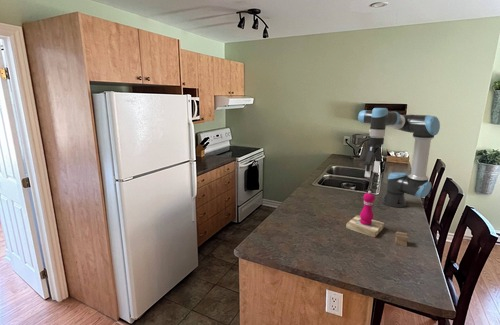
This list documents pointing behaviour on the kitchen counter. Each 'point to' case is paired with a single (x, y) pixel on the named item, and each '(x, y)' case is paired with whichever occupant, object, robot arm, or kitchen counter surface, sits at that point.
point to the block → (401, 238)
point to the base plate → (365, 226)
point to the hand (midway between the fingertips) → (371, 174)
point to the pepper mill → (367, 209)
